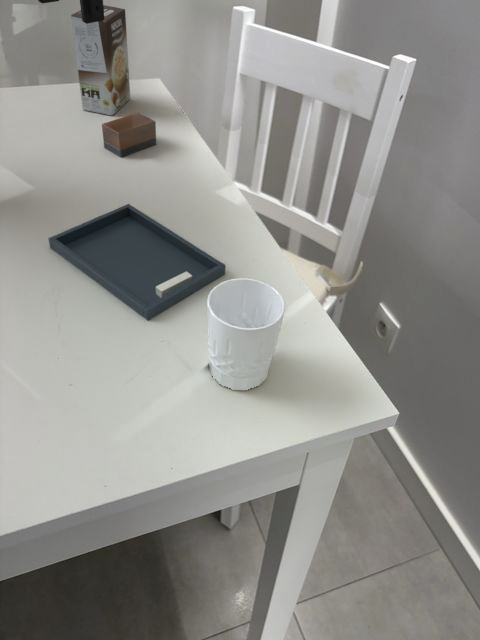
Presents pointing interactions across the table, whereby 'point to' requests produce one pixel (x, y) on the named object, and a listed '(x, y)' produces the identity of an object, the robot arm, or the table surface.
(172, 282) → the chalk
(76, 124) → the table surface
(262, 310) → the white cup
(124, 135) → the eraser
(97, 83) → the coffee box
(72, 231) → the tray
